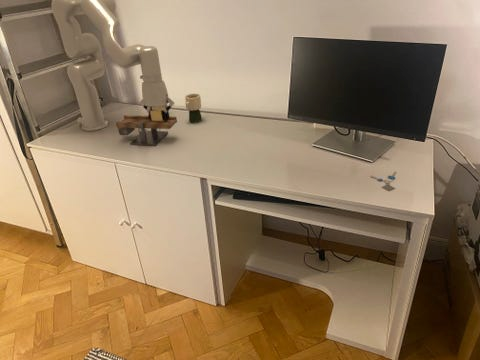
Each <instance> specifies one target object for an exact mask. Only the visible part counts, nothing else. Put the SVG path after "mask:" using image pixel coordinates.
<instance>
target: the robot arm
mask: <svg viewBox="0 0 480 360" xmlns="http://www.w3.org/2000/svg"><path fill="white" fill-rule="evenodd" d="M116 9H117V6H116V1H115V0H51V12H52V14H53V16H54V17H53V18H54V19H55V21H56V24H57V25H58V29H59V32H60V37H61V40H62V43H63V47H64V51H65V53H66V56H67V57H69V59H74V60H75V59H80V60H76V61H73V62H71V63H70V64H69V65H68V66H67V68H66V73H67V76H68V78H69V80H70V82H71V85H72V86H73V89H74V93H75V96H76V100H77V103H78V106H79V107H78V108H79V111H80V114H81V117H78V118H77V123H79V124H82V125H81V129H82V130H83V131H85V132H92V131H98V130H99V131H100V130H102V129H104V128H107V127H108V125H109V121H108V120H106V119H105V118H104V113H103V111H102V106H101V102H100V98H99V95H98V92H97V91H98V90H97V89H96V87H95V86H94V85H93V84H92V82H91V81H93V80H96V79H99V78H101V77H102V76H104V74H105V73H106V72H105V69H106V67H105V63H104V57H103V53H102V47H101V44H100V42H99V40H98V38H97V37H96V36H95V35H94V34H93V33H90V32H84V33H83V32H82V29H81V25H80V24H79V23H80V22H78V20H77V19H76V17H75V16H79V15H86V17H87V18H88V19H89V20H90V21H91V23H93V25H94V26H95V27H96V28H97V29H98V31H100V33H101V34H102V43H103V47H104V50H105V51H106V53H107V55H108V56H109V58H111V60H113V62H114V63H115V64H116V65H118V66H119V68H122V69H129V68H132V67H135V66H138V65H140V69H141V75H140V76H139V78H140V80H142V81H143V82H141V94H142V99H141V100H140V102H139V104H140V105H141V106H142V107H143V109H145V110H146V112H147V114H148V115H149V118H150V121H152V119H151V114H150V111H151V110H152V107H162V108H163V110H164V113H163V114H164V120H165V121H167V120H169V116H170V112H169V111H170V110H171V108H173V106H174V105H175V102H174V101H173V100H172V99H171V98H170V97H169V93H168V90H167V86H166V83H165V81H164V80H163V75H162V71H161V63H160V59H159V51H158V49H157V47H156V46H152V45H149V46H148V45H147V46H146V45H143V44H140V43H139V44H138V43H137V44H134V45H129V46H126V47H122V46H120V44H119V43H118V41H116V39H115V37H114V35H116V33H117V32H118V31H119V29H120V26H121V23H120V21H119V19H118V18H117V16H115V15H114V14H113V13H114V12H116ZM84 57H86V58H84ZM81 58H84V59H81Z"/></svg>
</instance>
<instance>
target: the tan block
mask: <svg viewBox="0 0 480 360" xmlns="http://www.w3.org/2000/svg"><path fill="white" fill-rule="evenodd" d="M163 113H164V110H163V108H162V107H154V108H153V109H152V110H151V111H150V114H151V119H152V122H156V123H166V122H167V121H168V120H167V121H165V120H164V114H163Z"/></svg>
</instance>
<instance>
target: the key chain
mask: <svg viewBox="0 0 480 360" xmlns="http://www.w3.org/2000/svg"><path fill="white" fill-rule="evenodd" d="M396 173H397V171H394V172H393V173H392V174H391V175H387V179H385V180H384V179H382V178H381V177H380V178H379V177H377V176H373V175H370V177H371V178H373V179H375V180H376V181H378V182H381V183H382V182H383V184H384V186H381V187H380V188H382V189H383V190H385V191H386V192H392V191H394V190H395V189H396V187H393V186H392V185H390V184H391V182H393V181H394V180H396V177H395V175H396ZM389 179H390V180H391V181H390V180H389Z"/></svg>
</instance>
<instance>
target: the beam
mask: <svg viewBox="0 0 480 360" xmlns="http://www.w3.org/2000/svg"><path fill="white" fill-rule="evenodd" d="M177 122H178V120H177V116H170V115H169V120H168V121H167V122H166V123H156V122H152V121H150V118H149V116H148V115H126V114H125V115H123V119H122V120H121V121H115V125H116V126H115V127H116V128H117V129H118V134H119V136H129V135H130V134H132V133H133V132H134V131H135V130H136V129H138V125H137V124H138V123H144V127H145V129H150V130H151V129H157V130H158V129H159V130H170V129H171V128H173V126H175V124H176V123H177Z"/></svg>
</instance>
